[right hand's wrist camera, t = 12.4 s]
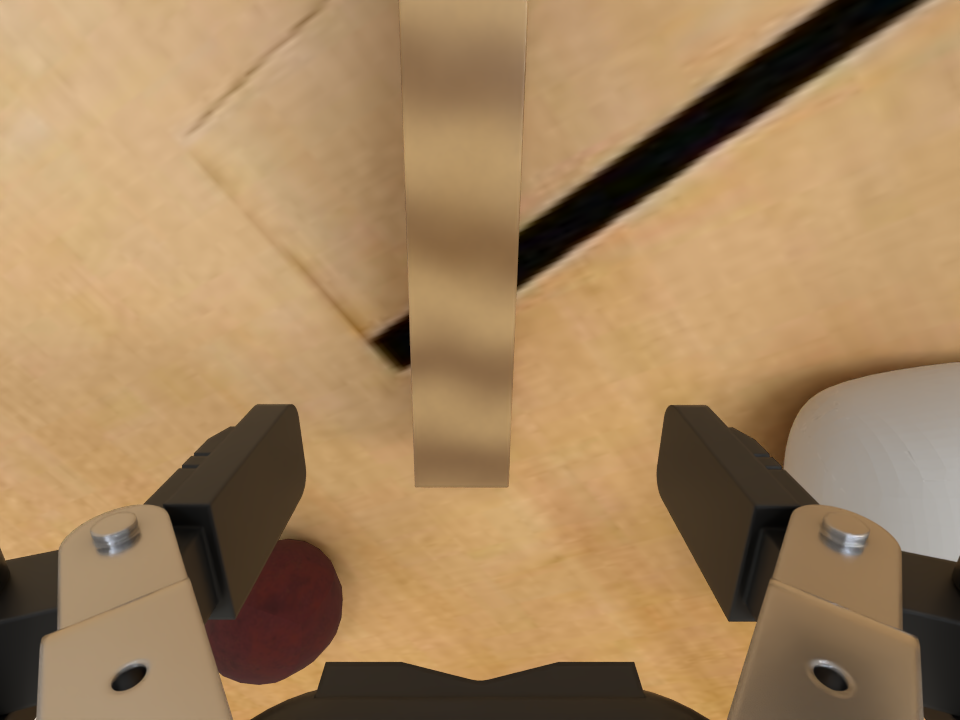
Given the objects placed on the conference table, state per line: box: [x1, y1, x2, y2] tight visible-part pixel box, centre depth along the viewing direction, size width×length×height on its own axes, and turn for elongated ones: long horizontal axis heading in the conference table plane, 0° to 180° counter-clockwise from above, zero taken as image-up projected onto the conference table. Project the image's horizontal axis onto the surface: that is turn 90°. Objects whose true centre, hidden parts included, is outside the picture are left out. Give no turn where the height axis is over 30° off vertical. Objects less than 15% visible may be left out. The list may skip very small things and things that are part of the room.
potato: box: [204, 539, 343, 685], centre depth 29 cm, size 7×8×7 cm
